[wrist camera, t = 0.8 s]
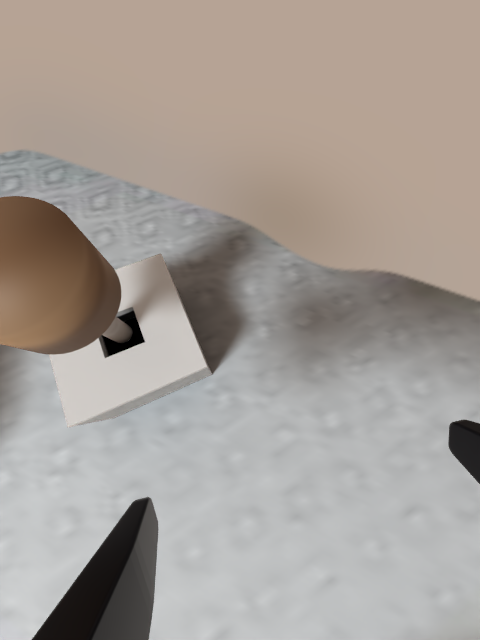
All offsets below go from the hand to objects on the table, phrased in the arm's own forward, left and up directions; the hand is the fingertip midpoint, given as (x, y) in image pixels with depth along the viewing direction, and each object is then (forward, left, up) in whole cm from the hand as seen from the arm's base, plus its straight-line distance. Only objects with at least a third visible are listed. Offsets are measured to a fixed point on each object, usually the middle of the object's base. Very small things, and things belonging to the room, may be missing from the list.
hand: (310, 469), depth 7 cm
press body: (+4, +10, -13) cm, 17 cm away
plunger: (+4, +10, -8) cm, 13 cm away
